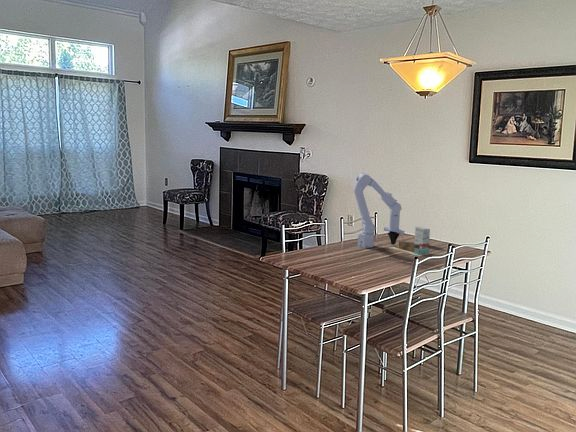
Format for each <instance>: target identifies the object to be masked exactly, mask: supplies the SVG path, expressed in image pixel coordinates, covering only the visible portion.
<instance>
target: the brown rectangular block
mask: <svg viewBox="0 0 576 432" xmlns="http://www.w3.org/2000/svg"><path fill="white" fill-rule="evenodd" d="M414 243H415V242H409V241H406V240H401V241H399V242H398V246H399V249H403V250H407V251H410V252H414V248H417V249H421V246H420V245H418V244H414Z"/></svg>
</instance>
